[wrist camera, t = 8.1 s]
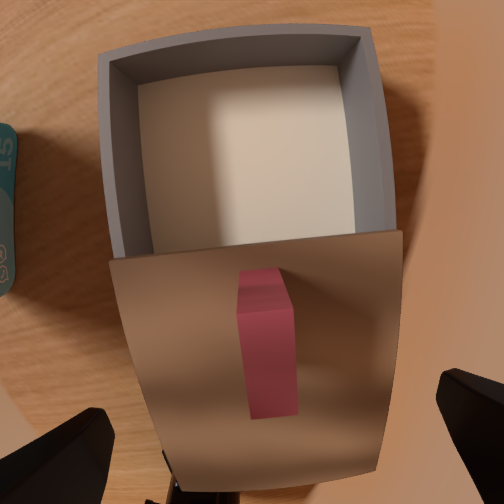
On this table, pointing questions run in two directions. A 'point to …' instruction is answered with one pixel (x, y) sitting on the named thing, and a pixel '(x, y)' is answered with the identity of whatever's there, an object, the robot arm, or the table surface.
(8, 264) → the data package
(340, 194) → the grey open box
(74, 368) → the table surface
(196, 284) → the lid
